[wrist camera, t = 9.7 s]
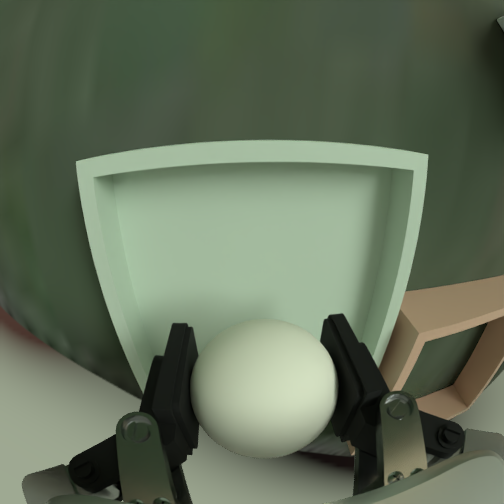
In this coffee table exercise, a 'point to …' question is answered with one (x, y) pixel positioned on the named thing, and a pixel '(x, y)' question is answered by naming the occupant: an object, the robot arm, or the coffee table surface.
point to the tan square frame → (442, 324)
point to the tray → (251, 237)
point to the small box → (501, 22)
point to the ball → (264, 388)
